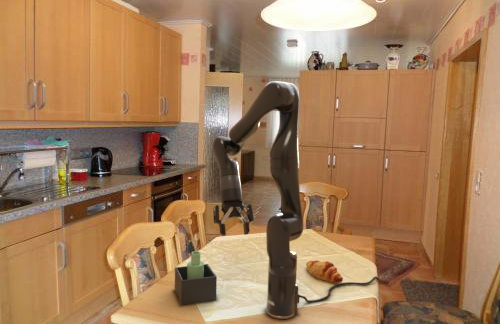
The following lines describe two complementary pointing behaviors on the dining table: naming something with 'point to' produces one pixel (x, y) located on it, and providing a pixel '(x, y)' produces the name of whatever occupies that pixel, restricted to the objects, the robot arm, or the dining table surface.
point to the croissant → (324, 271)
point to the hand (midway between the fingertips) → (235, 234)
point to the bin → (195, 286)
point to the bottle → (195, 266)
